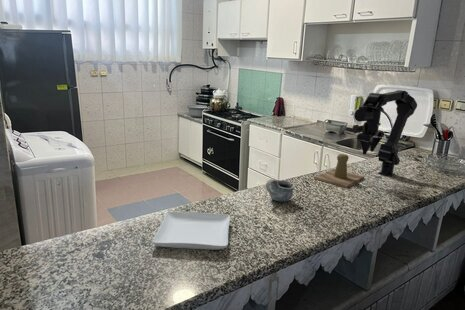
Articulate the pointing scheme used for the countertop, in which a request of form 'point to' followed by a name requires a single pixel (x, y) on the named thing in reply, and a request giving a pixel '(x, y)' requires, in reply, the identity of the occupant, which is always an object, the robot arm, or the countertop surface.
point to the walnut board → (339, 179)
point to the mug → (280, 189)
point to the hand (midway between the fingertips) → (368, 152)
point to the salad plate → (193, 230)
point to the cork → (341, 166)
